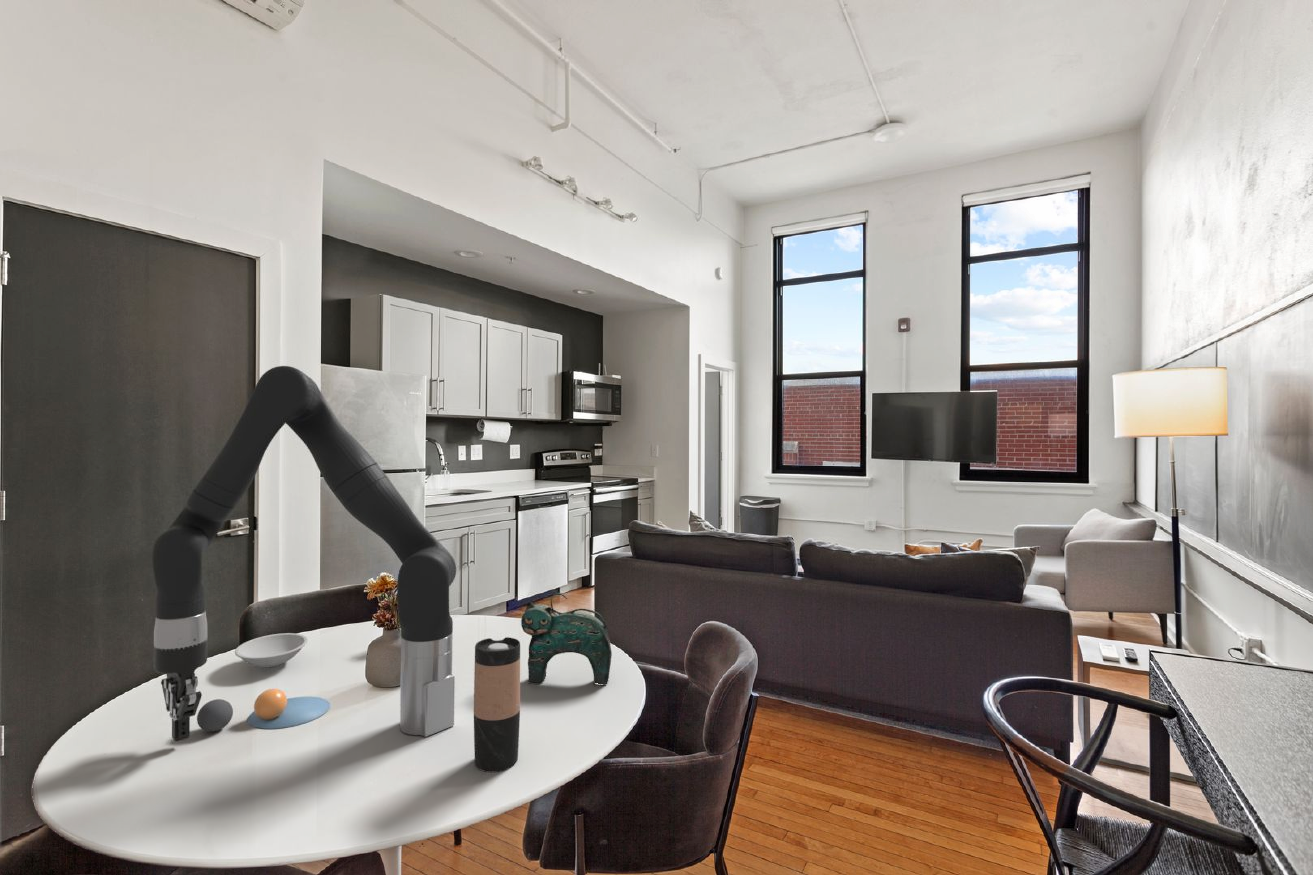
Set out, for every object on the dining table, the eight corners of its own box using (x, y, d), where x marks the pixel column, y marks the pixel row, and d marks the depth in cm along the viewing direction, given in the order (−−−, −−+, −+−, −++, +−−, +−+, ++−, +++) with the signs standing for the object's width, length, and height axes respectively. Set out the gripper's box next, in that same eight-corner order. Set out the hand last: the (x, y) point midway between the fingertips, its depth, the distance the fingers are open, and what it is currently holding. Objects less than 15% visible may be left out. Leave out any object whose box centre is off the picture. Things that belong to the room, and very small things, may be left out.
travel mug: (495, 777, 104) (497, 654, 104) (463, 764, 109) (464, 645, 108) (528, 757, 111) (530, 641, 111) (496, 745, 115) (498, 633, 115)
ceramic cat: (519, 685, 142) (520, 594, 142) (526, 674, 149) (527, 587, 148) (609, 688, 141) (610, 597, 141) (612, 677, 148) (614, 589, 147)
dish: (249, 655, 158) (249, 635, 158) (314, 650, 162) (314, 631, 162) (223, 683, 141) (223, 660, 141) (296, 677, 145) (297, 655, 145)
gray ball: (204, 701, 116) (215, 729, 115) (233, 690, 122) (243, 717, 121) (185, 712, 118) (196, 741, 117) (215, 701, 123) (225, 728, 122)
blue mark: (343, 710, 128) (343, 709, 128) (266, 736, 117) (266, 734, 117) (310, 691, 137) (310, 690, 137) (236, 714, 126) (236, 713, 126)
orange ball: (266, 729, 121) (296, 711, 125) (257, 704, 120) (287, 686, 124) (254, 721, 125) (283, 703, 129) (244, 697, 123) (274, 680, 127)
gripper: (220, 642, 111) (219, 742, 112) (193, 627, 120) (192, 720, 120) (167, 654, 106) (166, 759, 106) (143, 637, 114) (142, 734, 114)
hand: (180, 738), depth 113 cm, fingers closed
